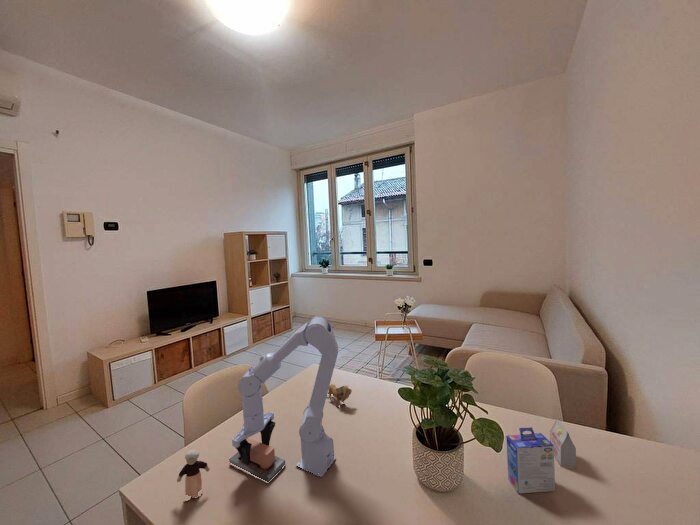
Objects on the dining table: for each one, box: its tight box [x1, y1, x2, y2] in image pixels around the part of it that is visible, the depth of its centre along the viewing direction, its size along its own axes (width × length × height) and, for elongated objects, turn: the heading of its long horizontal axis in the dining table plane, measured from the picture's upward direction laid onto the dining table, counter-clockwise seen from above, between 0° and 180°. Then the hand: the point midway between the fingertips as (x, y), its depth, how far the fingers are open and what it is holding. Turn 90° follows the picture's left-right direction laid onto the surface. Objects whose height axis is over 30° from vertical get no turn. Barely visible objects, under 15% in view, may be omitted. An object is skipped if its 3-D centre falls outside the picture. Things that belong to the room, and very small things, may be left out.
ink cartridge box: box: [505, 426, 556, 494], centre depth 74 cm, size 10×6×14 cm, turn 92°
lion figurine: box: [327, 383, 353, 406], centre depth 118 cm, size 15×5×9 cm, turn 47°
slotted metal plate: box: [228, 451, 286, 482], centre depth 86 cm, size 16×7×2 cm, turn 62°
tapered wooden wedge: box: [239, 437, 276, 471], centre depth 86 cm, size 12×3×6 cm, turn 62°
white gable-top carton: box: [549, 418, 577, 469], centre depth 83 cm, size 4×7×10 cm, turn 166°
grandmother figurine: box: [176, 448, 211, 499], centre depth 76 cm, size 8×4×13 cm, turn 126°
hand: (256, 454), depth 86 cm, fingers open, 7 cm apart
